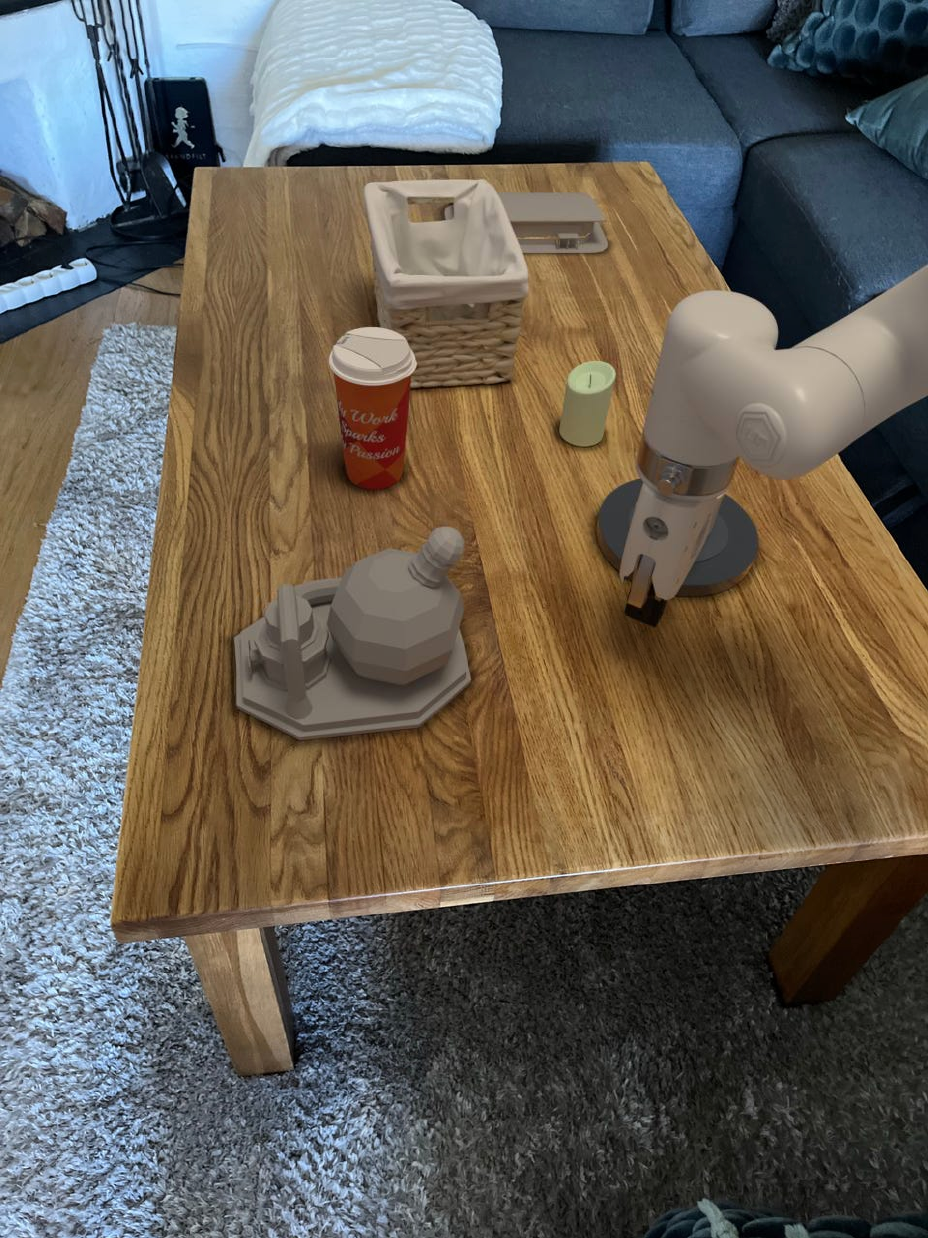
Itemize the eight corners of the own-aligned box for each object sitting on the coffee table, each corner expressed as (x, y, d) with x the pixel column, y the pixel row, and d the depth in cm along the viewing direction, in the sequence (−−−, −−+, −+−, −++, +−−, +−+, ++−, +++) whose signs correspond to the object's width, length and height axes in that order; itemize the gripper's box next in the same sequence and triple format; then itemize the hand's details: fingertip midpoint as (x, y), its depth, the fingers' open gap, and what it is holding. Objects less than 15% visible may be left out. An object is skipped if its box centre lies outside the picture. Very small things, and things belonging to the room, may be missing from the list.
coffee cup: (321, 483, 97) (312, 358, 86) (357, 439, 103) (352, 315, 91) (395, 506, 96) (394, 381, 84) (427, 460, 101) (431, 336, 90)
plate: (771, 519, 98) (776, 507, 96) (728, 619, 88) (733, 607, 87) (628, 469, 102) (630, 456, 100) (571, 559, 92) (574, 546, 91)
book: (612, 252, 134) (617, 225, 131) (453, 253, 131) (454, 226, 128) (590, 203, 144) (594, 177, 141) (442, 203, 141) (443, 177, 138)
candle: (572, 451, 103) (584, 388, 97) (551, 425, 106) (560, 362, 100) (611, 441, 105) (624, 378, 99) (588, 416, 108) (600, 353, 102)
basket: (521, 391, 110) (535, 273, 99) (384, 399, 108) (383, 279, 97) (484, 286, 126) (492, 175, 115) (363, 291, 123) (360, 178, 112)
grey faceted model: (449, 587, 89) (457, 459, 77) (481, 719, 79) (496, 595, 67) (233, 609, 85) (208, 477, 74) (238, 749, 75) (210, 623, 64)
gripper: (702, 529, 66) (652, 688, 80) (762, 421, 75) (708, 581, 89) (604, 492, 68) (572, 653, 82) (674, 392, 77) (634, 552, 91)
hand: (643, 615), depth 85 cm, fingers closed
